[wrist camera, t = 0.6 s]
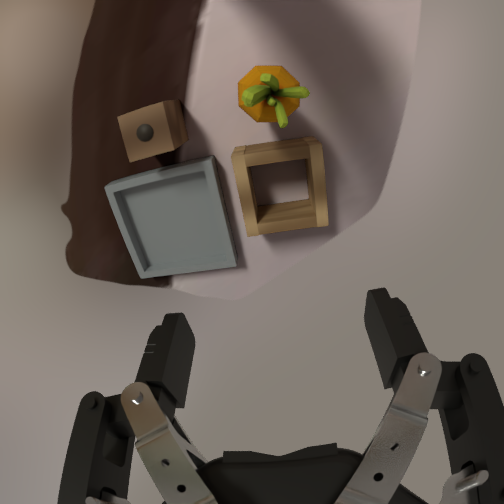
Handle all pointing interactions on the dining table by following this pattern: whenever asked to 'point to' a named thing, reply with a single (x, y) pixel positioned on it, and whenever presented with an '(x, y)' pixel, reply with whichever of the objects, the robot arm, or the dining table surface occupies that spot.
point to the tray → (174, 219)
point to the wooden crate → (288, 212)
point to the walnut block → (153, 129)
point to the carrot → (270, 94)
